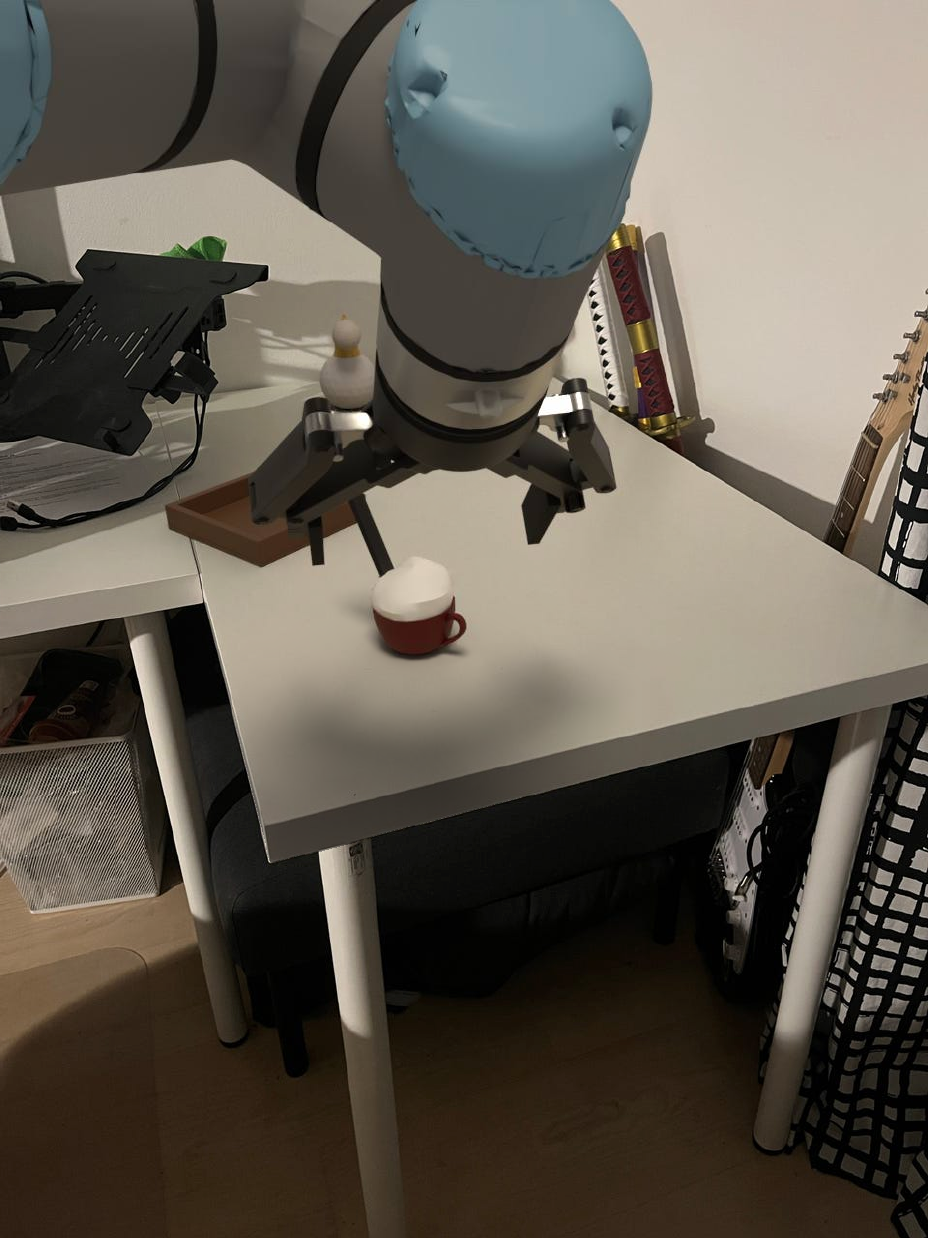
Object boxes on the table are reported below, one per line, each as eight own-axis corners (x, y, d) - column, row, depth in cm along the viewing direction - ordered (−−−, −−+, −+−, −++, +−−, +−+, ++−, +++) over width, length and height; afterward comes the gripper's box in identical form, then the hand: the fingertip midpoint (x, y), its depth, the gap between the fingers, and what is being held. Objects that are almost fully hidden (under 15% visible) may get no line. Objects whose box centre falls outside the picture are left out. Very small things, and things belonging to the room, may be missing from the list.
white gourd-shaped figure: (363, 394, 131) (357, 303, 125) (397, 412, 124) (392, 317, 118) (312, 403, 128) (303, 310, 122) (344, 423, 121) (337, 325, 115)
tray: (261, 567, 86) (257, 541, 85) (168, 528, 94) (164, 504, 93) (367, 517, 96) (365, 494, 94) (275, 486, 103) (272, 463, 102)
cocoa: (480, 655, 73) (479, 508, 67) (409, 681, 70) (400, 530, 64) (415, 605, 80) (409, 468, 74) (348, 627, 77) (335, 486, 71)
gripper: (165, 462, 38) (227, 612, 58) (763, 414, 42) (626, 571, 62) (153, 294, 40) (217, 496, 60) (727, 263, 43) (604, 463, 64)
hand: (424, 534), depth 61 cm, fingers open, 13 cm apart
